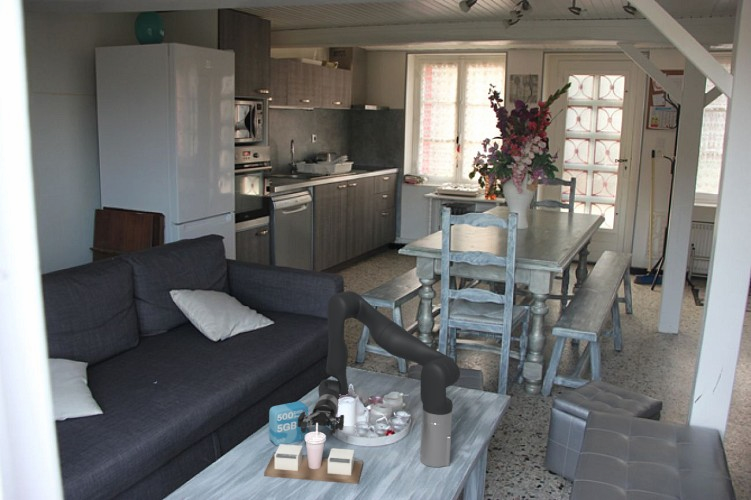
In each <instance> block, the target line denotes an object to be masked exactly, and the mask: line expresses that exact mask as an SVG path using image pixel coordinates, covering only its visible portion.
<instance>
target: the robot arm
mask: <svg viewBox="0 0 751 500" xmlns="http://www.w3.org/2000/svg"><path fill="white" fill-rule="evenodd" d="M326 309H327V313H326V314H327V315H326V316H327V334H328V346H327V347H328V350H327V358H326V367H325V372H326V374H327V375H328V376H329V377H332V378H334V379H328V378H326V379H322V380H321V381H320V382H319V386H318V390H317V392H318V399H317V401H316V403H315V405H314V407H313V410H312V412H311V413H309V414H308V415H306V414H305V412H302V413H301V414H300V416H299V418H298V427H301V431H302V433H305V431H306V429H307V428H308V429H309V428H313V427H316V423H318V426H321V427H322V426H323V427H326V428H328V429H329V435H330V436H333V435H335V433H336V432H337V430H339V431H343V430H344V425H345V424H344V423H345V415H344V414H340V416H337V415H338V412H339V411H338V410H339V406H338V399H339V397H340V396H339V394H341V395H346V394H348V395H349V385H348V379H347V366H348V359H349V351H348V350H349V349H348V347H347V344H346V342H345V338H344V333H343V332H344V331H343V330H344V324H345V321H346V320H348V319H349V320H350V319H355V320H357V321H358V322H360V323H361V324H363V325H364V326H365V327H366V328H367V329H368V331H369V334H370V336H371V338H372V340H373V341H374V343H375V344H376V345H378V347H380V348H381V349H382V350H384V351H386V352H387V353H388V354H390V355H392V356H394V357H396V358H400V359H403V360H405V361H409V362H412V363H416V364H418V365H420V366H421V367H422V368H421V371H420V400H421V402H422V403H421V404H422V413H421V434H420V448H419V461H420V462H421V464H422V465H425V466H428V467H432V468H441V467H446V466H447V467H449V466H450V462H451V461H450V458H451V442H452V418H453V407H454V405H453V401H452V399H451V398H449V397H448V396H447V388H448V387H451V386H452V385H454V384H455V383H457V382H458V381H459V380H460V377H461V372H460V371H461V370H460V366H459V365H458V364H457V362H456V361H455V360H454V359H452V358H451V357H450V356H448V355H446V354H444V353H442V352H441V351H439V350H437V349H435V348H433V347H431V346H430V345H428V344H427V343H425V342H424V341H423V340H421V339H420V338H418V337H417V336H415V335H414V334H412V333H411V332H409V331H408V330H407V329H406V328H404V327H402V326H401V325H399V324H398V323H396V322H395V321H393V320H392V319H390V318H389V317H387V316H386V315H385V314H383V313H382V312H380V311H379V310H377V309H376V308H375V307H374V306H373V305H372V304H370V302H368V301H367V300H366V299H365V298H363V297H362V296H361V295H360V294H359V293H357V292H355V291H352V290H347V291H343V292H338V293H335V294H333V295H331V296H330V297H329V299H328V302H327V307H326ZM335 379H336V380H335ZM307 422H308V424H307Z"/></svg>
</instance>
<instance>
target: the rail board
mask: <svg viewBox="0 0 751 500" xmlns="http://www.w3.org/2000/svg"><path fill="white" fill-rule="evenodd" d="M277 447H278V448H277V449H276V452H273V453H272V456H271V458H270V460H269V462H268V464H267V465H266V468H265V470H264V473H263V474H264V475H263V476H264V477H269V478H270V477H271V478H283V479H284V478H286V479H293V480H294V479H296V480H305V481H306V480H310V481H318V482H319V481H321V482H332V483H343V484H353V485H355V484H356V485H357V484H358V485H359V482H360V478H361V474H362V470H363V465H364V459H363V458H355V449H346V448H331V449H330V452H329V456H323V455H322V462H321V467H320V468H318V469H311V468H309V466H308V457H307V454H303V445H293V444H280V445H279V446H277Z"/></svg>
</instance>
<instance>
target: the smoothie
mask: <svg viewBox="0 0 751 500" xmlns="http://www.w3.org/2000/svg"><path fill="white" fill-rule="evenodd" d="M326 440H327V435H326V434H325V433H323V432H321V431H319V425H318V423H316V426H315V431H310V432H308V433H307V434H306V435H305V440H304V441H305V445H306V455H307V457H308V466H309V468H311V469H318V468H320V467H321V462H322V456H323V454H324V448H325V442H326Z"/></svg>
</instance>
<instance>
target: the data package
mask: <svg viewBox="0 0 751 500" xmlns="http://www.w3.org/2000/svg"><path fill="white" fill-rule="evenodd" d="M302 412H305V414H306V415H309V407H308V406H307V405H306V404H304V402H302V401H301V400H299V401H293V402H289V403H288V402H287V403H284V404H279V405H274V406H271V407H270V409H269V413H268V415H269V417H268V419H269V421H268V422H269V423H268V429H269V430H268V433H269V434H268V435H269V436H268V438H269V440H270V441H271V442H272V443H273V445H275V446H277V447H279V445H280V444H284V445H289V444H291V443H297V442H301V441H305V435H306V434H307V433H309V427H308V428H307V429H306V431H305V433H302V431H301V427H298V418H299V416H300V414H301V413H302ZM307 424H308V422H307Z"/></svg>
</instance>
